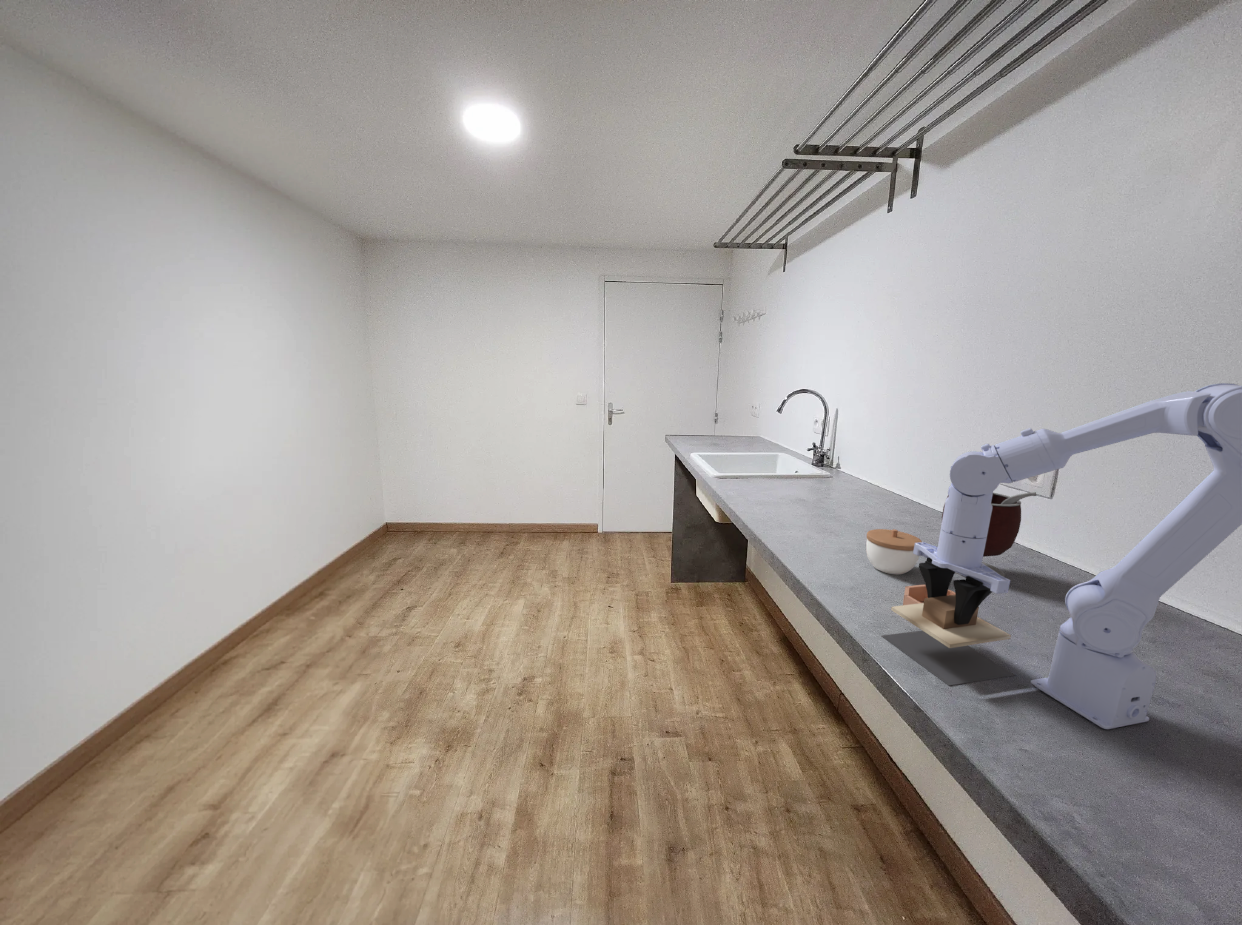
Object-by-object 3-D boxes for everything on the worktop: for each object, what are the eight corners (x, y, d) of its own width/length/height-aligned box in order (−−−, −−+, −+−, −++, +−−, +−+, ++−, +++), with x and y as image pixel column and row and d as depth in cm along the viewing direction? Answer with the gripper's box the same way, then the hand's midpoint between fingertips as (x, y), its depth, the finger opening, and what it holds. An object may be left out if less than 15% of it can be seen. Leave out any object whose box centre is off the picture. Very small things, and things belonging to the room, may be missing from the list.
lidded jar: (925, 583, 104) (932, 541, 102) (870, 577, 106) (875, 535, 104) (907, 563, 114) (913, 524, 112) (857, 558, 116) (862, 520, 114)
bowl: (984, 628, 87) (988, 609, 86) (935, 634, 84) (938, 615, 83) (934, 599, 96) (937, 583, 96) (889, 604, 94) (891, 587, 93)
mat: (1015, 677, 73) (1015, 674, 73) (948, 688, 70) (949, 685, 70) (940, 630, 85) (940, 628, 85) (881, 638, 82) (881, 635, 82)
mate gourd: (925, 567, 112) (939, 481, 108) (944, 553, 121) (958, 473, 117) (1009, 593, 100) (1029, 497, 96) (1024, 574, 110) (1043, 487, 105)
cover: (1010, 638, 73) (1014, 616, 72) (949, 648, 70) (953, 625, 70) (946, 603, 83) (949, 583, 83) (891, 610, 81) (894, 589, 80)
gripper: (903, 517, 80) (891, 595, 83) (987, 552, 66) (969, 644, 69) (939, 515, 81) (926, 592, 84) (1028, 549, 68) (1009, 638, 70)
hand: (948, 615), depth 77 cm, fingers closed on cover, 4 cm apart
